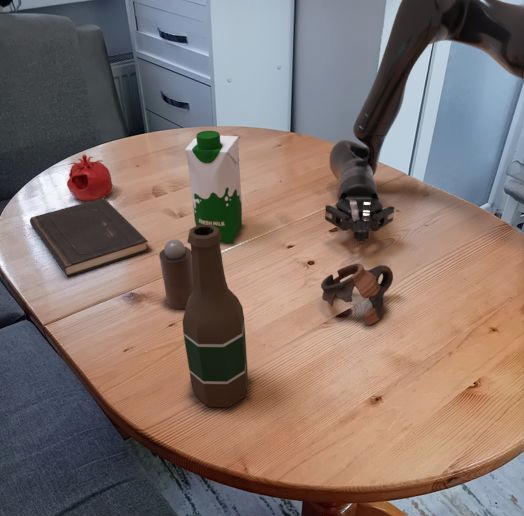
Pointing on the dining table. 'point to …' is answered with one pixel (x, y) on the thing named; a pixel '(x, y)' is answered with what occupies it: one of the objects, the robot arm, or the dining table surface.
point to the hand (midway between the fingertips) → (361, 237)
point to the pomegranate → (89, 180)
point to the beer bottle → (213, 326)
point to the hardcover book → (88, 236)
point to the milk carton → (216, 182)
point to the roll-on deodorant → (177, 273)
